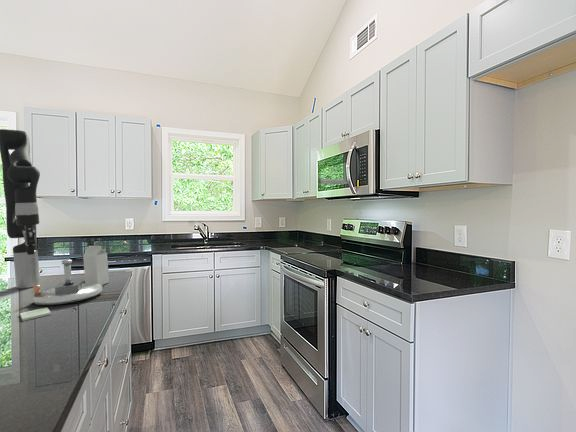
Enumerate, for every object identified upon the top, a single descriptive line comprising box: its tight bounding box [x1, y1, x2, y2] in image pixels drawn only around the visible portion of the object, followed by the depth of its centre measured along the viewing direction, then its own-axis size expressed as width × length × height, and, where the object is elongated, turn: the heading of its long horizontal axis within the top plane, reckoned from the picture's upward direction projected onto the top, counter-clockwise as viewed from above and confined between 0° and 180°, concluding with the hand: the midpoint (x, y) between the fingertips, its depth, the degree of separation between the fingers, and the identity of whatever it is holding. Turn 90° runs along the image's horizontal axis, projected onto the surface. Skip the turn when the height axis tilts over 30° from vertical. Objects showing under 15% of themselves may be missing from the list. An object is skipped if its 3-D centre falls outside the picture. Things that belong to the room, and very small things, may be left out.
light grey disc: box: [32, 280, 103, 306], centre depth 135 cm, size 24×24×6 cm
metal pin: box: [61, 258, 73, 285], centre depth 135 cm, size 4×4×13 cm
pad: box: [19, 307, 52, 322], centre depth 116 cm, size 8×8×1 cm
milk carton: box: [82, 245, 110, 286], centre depth 155 cm, size 7×7×19 cm
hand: (30, 253), depth 136 cm, fingers closed
